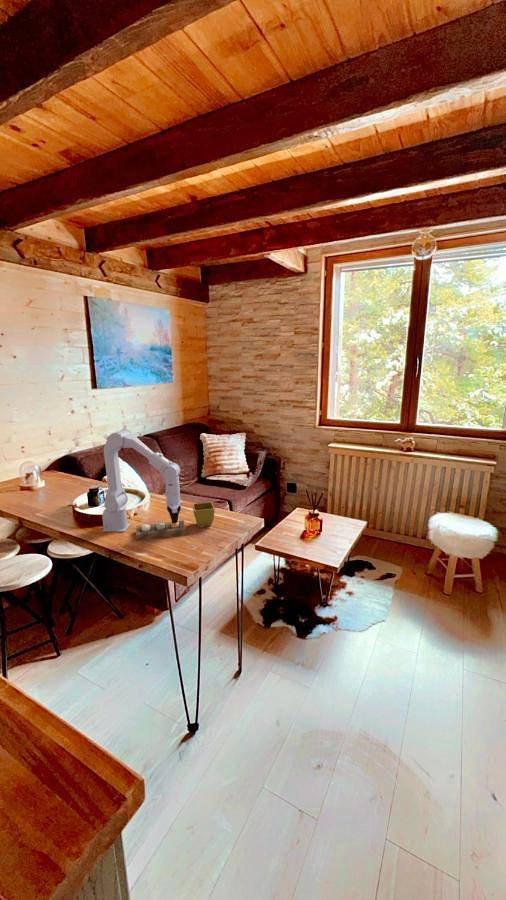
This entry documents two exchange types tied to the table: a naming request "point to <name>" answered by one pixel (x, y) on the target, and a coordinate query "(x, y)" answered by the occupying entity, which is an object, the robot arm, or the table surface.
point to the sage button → (160, 526)
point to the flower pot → (204, 513)
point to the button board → (160, 531)
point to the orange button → (174, 525)
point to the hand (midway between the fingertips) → (174, 522)
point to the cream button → (145, 527)
